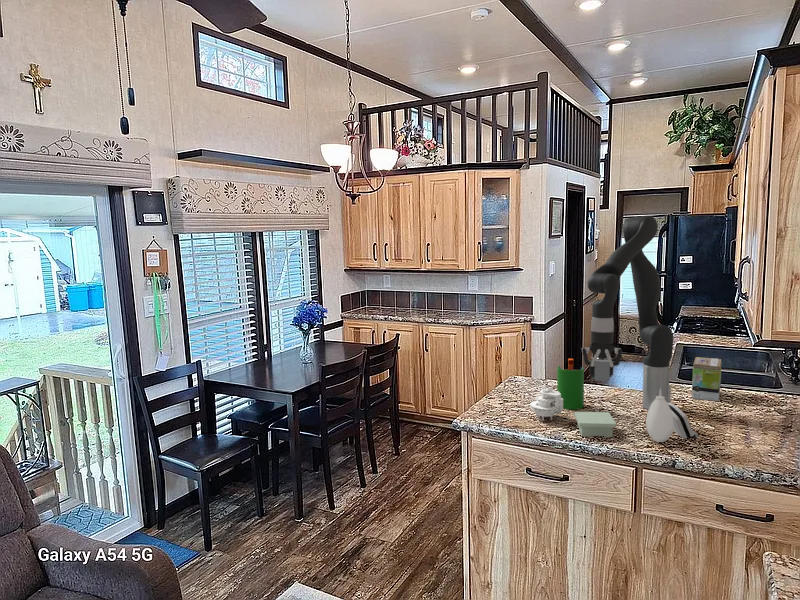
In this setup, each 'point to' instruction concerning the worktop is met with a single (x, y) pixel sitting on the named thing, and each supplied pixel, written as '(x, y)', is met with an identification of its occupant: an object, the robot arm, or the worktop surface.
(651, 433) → the sauce bottle
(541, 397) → the mechanical part
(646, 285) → the robot arm
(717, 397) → the tea box
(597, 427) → the stand
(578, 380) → the motor
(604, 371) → the housing
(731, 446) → the worktop surface
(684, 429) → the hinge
